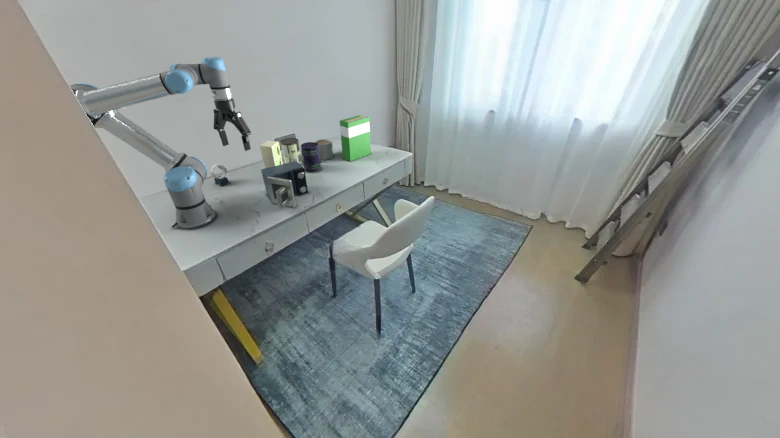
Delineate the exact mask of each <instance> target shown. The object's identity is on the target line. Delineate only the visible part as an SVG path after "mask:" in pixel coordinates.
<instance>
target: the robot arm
mask: <svg viewBox="0 0 780 438" xmlns="http://www.w3.org/2000/svg"><path fill="white" fill-rule="evenodd" d="M201 61H202V62H201V63H177V64H176V63H175V64H171V65H170V66H169V70H167V71H163V72H160V73H159V72H158V73H155V74H152V75H151V74H150V75H147V76H144V77H143V76H142V77H139V78H135V79H131V80H127V81H124V82H120V83H119V82H118V83H115V84H111V85H107V86H104V87H98V86H97V85H93V84H90V83H74V84H71V85H69V86H70V87H71V89H72V90H73V92H74V94H75V95H76V97H77V99H78V100H79V102H80V104H81V105H82V107H83V109H84V111H85V112H86V114H87V116H88V117H89V119H90V120H91V122H92V123H93V125H94V127H93V128H94V129H104V131H106V132H108V133H109V134H111V135H112V136H114V137H116V138H118V139H119V140H120V141H122V142H123V143H125V144H126V145H128V146H129V147H131V148H133V149H134V150H136V151H137V152H139V153H141V154H142V155H144V156H145V157H147V158H148V159H150V160H151V161H153V162H155V163H156V164H158V165H159V166H161V167H162V168H163V169H164V172H165V173H164V175H163V182H164V185H165V188H166V189H167V192H168V194H169V196H170V198H171V200H172V202H173V205H174V207H175V222H174V224H173V225H172V226H171V228H172V229H174V228H175V227H176V226H178V227H179V228H180V229H184V230H192V229H197V228H201V227H204V226H206V225H208V224H210V223H212V222H213V221H214V220H215V219H216V216H217V215H216V212H215V210H214V208H213V207H212V205H211V204H210V203H208V201H207V200H206V198H205V195H204V192H203V190H202V187H203V184H204V182H205V180H206V179H207V175H208V169H207V166H206V164H205V162H204V161H203V160H202V159H200V158H198V157H196V156H189V155H188V154H186V153H185V152H177V150H174V149H173V148H171V147H170V146H169V145H167V144H166V143H165V142H163V141H162V140H160V139H159V138H157V137H156V136H154V135H153V134H151V133H150V132H148V131H147V130H145V129H144V128H142V127H141V126H140V125H138V124H137V123H135V122H134V121H132V120H131V119H130V118H128V117H126V116H125V115H124V114H122V113H121V112H119V110H121V109H124V108H129V107H132V106H135V105H139V104H142V103H143V104H144V103H147V102H149V101H155V100H158V99H162V98H165V97H166V98H167V97H169V96H173V95H177V94H180V95H182V94H186V93H189V92H190V91H191V90H192V89H193V87H195V86H198V85H199V86H200V85H208V86H209V88H210V91H211V95H212V99H214V100H213V103H214V106H215V108H214V109H213V130H216V132H218V135H219V138H220V141H221V144H222V146H223V147H227V146H228V145H230V143H229V140H228V136H227V133H226V130H225V127H226V124H227V122H228V123H230V124H233V126H234V127H235V128H236V130H238V132H239V133H240V134H241V136H240V137H241V141H242V145H243V149H244V151H245V152H247V151H250V150H251V149H252V148H251V144H250V142H251V141H250V137H249V136H250V135H252V131H251V130H250V128H249V126H248V125H247V122H246V120H245V119H244V117H243V114H242V112H241V111H236V110H235V108H236V103H235V100H234V98H233V97H234V96H233V91H232V88H231V84H230V81H229V76H228V71H227V68H226V67H225V66H226V65H225V62H224V59H223V58H222V57H219V56H210V57H209V56H208V57H203V58H202V59H201Z"/></svg>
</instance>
